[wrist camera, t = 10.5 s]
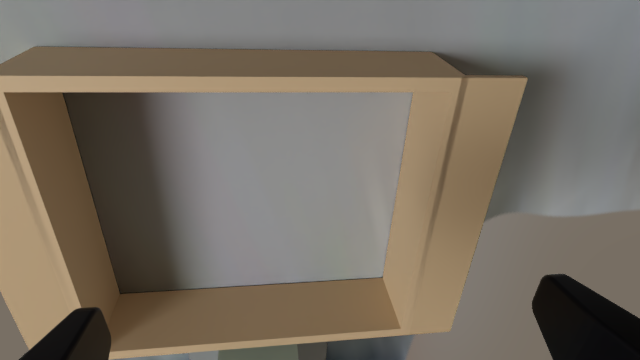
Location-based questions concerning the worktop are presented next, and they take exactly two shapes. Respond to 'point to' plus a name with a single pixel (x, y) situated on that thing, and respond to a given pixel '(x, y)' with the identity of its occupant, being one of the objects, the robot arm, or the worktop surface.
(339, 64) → the tan rectangular open frame
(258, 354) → the capped box
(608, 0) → the worktop surface
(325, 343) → the mat
